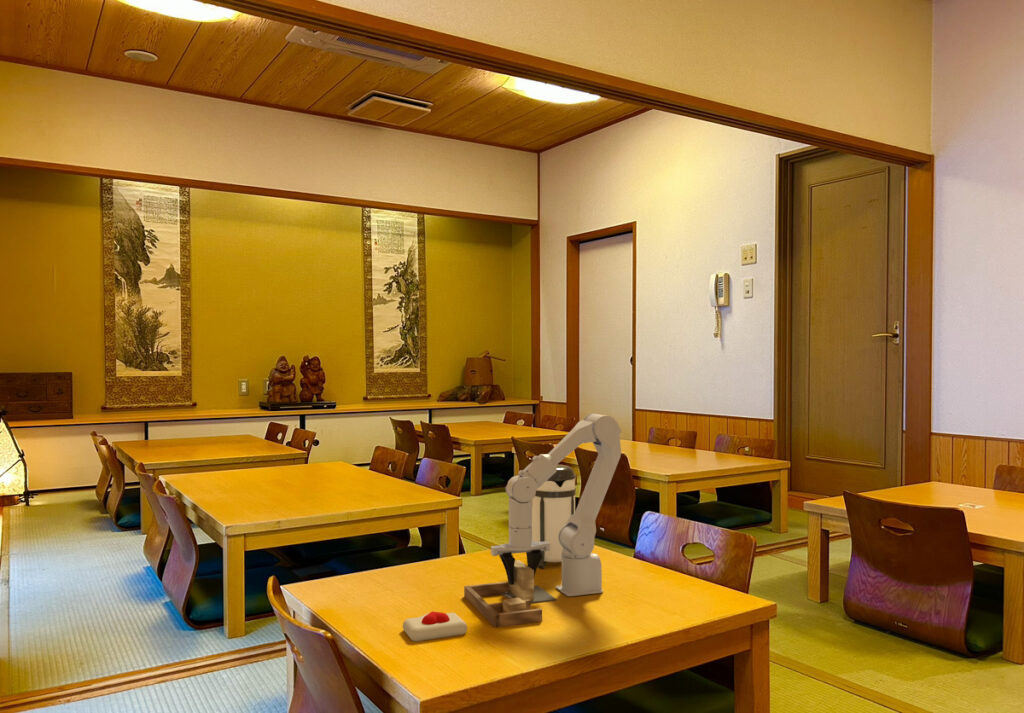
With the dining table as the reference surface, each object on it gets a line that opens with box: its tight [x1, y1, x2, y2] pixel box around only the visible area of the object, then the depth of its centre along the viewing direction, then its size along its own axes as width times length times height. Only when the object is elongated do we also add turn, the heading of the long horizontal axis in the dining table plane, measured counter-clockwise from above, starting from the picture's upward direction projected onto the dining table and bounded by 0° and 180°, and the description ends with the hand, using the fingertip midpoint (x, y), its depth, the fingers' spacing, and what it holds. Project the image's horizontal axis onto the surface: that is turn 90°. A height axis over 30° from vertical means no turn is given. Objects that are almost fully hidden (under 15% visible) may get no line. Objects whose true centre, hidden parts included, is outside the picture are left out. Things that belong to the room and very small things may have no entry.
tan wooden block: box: [509, 559, 535, 600], centre depth 185 cm, size 3×10×7 cm, turn 20°
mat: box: [506, 584, 557, 604], centre depth 186 cm, size 9×12×1 cm
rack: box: [463, 581, 543, 628], centre depth 176 cm, size 11×23×2 cm, turn 20°
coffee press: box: [532, 463, 577, 569], centre depth 217 cm, size 17×16×30 cm
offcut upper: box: [502, 597, 526, 612], centre depth 170 cm, size 4×4×2 cm
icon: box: [402, 610, 468, 642], centre depth 162 cm, size 12×4×10 cm
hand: (520, 582), depth 185 cm, fingers open, 4 cm apart
